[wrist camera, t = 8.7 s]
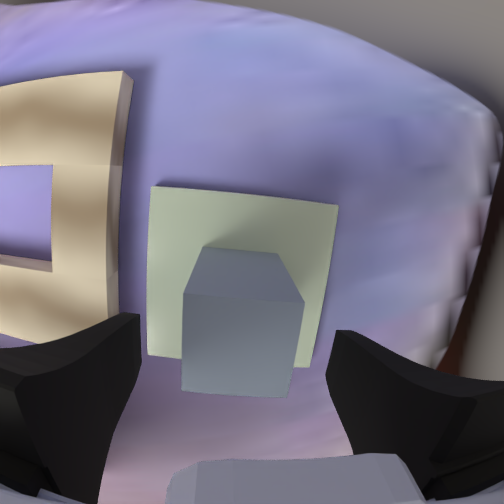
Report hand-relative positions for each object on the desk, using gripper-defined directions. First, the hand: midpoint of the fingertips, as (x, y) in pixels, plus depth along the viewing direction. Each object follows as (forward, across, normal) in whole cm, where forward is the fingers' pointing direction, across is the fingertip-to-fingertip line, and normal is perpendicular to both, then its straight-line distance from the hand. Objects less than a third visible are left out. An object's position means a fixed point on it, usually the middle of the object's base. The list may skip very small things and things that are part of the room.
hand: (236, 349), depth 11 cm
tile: (+8, 0, 0) cm, 8 cm away
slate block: (+7, 0, 0) cm, 7 cm away
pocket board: (+8, +15, -3) cm, 17 cm away
